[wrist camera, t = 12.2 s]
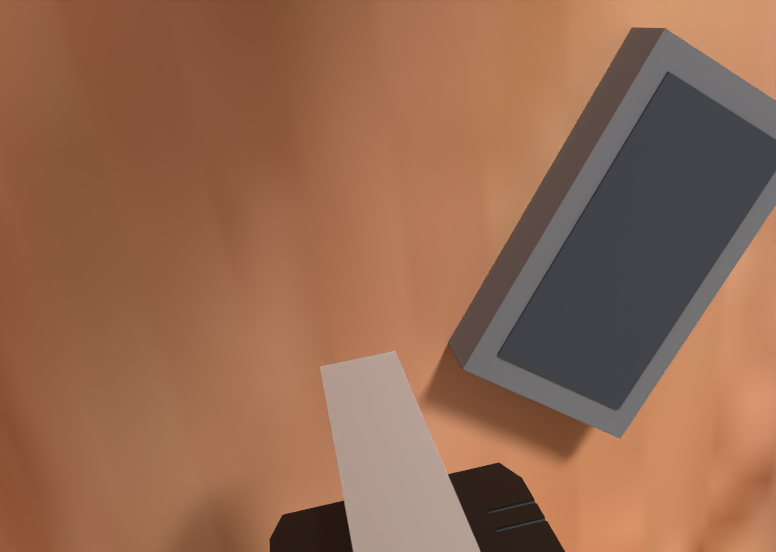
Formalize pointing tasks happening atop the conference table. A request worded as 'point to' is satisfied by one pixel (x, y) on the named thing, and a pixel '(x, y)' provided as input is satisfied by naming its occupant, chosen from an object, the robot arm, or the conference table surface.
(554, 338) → the phone
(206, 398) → the conference table surface
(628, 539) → the conference table surface
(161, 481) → the conference table surface
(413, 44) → the conference table surface
